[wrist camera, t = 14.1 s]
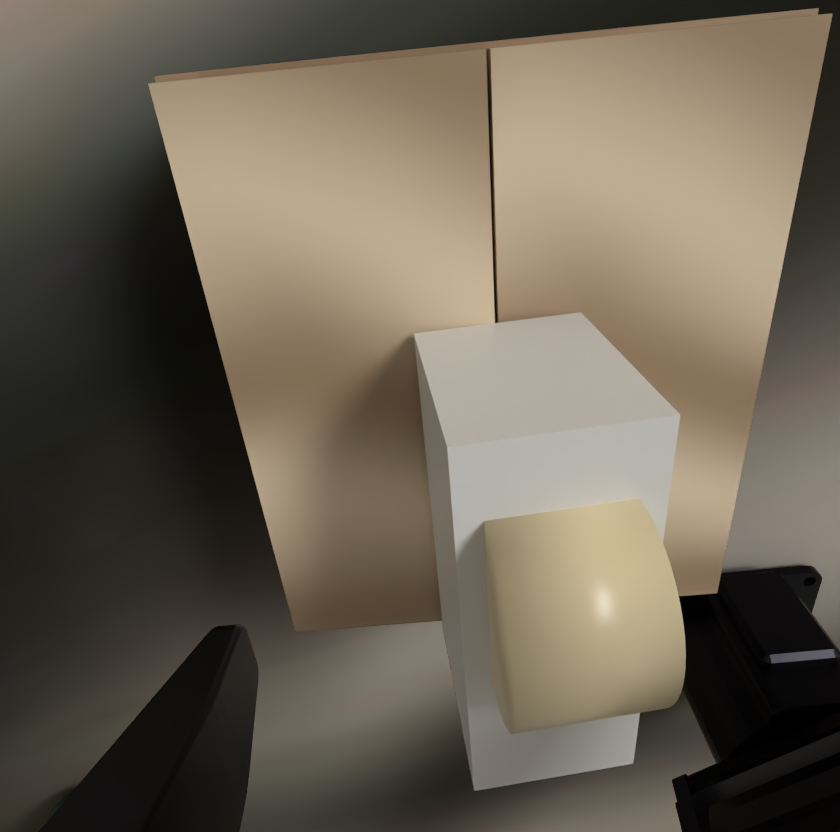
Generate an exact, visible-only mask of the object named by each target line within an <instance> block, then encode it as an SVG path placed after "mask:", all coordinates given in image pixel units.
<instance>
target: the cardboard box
mask: <svg viewBox="0 0 840 832" xmlns="http://www.w3.org/2000/svg"><path fill="white" fill-rule="evenodd" d="M818 10H819V8H815V9H805V10H794V11H784V12H774V13H764V14H754V15H743V16H733V17H723V18H713V19H703V20H693V21H682V22H673V23H663V24H653V25H644V26H634V27H624V28H614V29H605V30H595V31H585V32H575V33H566V34H556V35H546V36H537V37H527V38H517V39H507V40H498V41H488V42H478V43H468V44H459V45H449V46H439V47H429V48H420V49H410V50H400V51H391V52H381V53H371V54H361V55H352V56H342V57H332V58H322V59H313V60H303V61H293V62H284V63H274V64H264V65H254V66H245V67H235V68H225V69H216V70H207V71H198V72H189V73H180V74H171V75H162V76H154V77H155V80H156V83H157V82H167V81H177V80H187V79H196V78H206V77H216V76H226V75H235V74H245V73H255V72H265V71H274V70H284V69H294V68H304V67H313V66H323V65H333V64H343V63H353V62H362V61H372V60H382V59H392V58H401V57H411V56H421V55H431V54H440V53H450V52H460V51H470V50H479V49H486V62H487V93H488V124H489V155H490V187H491V218H492V249H493V280H494V248H493V216H492V184H491V152H490V120H489V79H488V48H498V47H508V46H517V45H527V44H537V43H547V42H556V41H566V40H576V39H586V38H595V37H605V36H615V35H625V34H634V33H644V32H654V31H664V30H673V29H683V28H693V27H703V26H712V25H722V24H732V23H742V22H751V21H761V20H771V19H781V18H790V17H800V16H810V15H818ZM494 311H495V280H494ZM495 323H496V312H495Z"/></svg>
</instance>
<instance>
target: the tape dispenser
mask: <svg viewBox="0 0 840 832" xmlns="http://www.w3.org/2000/svg"><path fill="white" fill-rule="evenodd" d="M414 341H415V351H416V361H417V372H418V382H419V392H420V402H421V412H422V422H423V432H424V442H425V452H426V462H427V472H428V482H429V493H430V503H431V513H432V523H433V533H434V543H435V553H436V563H437V573H438V583H439V593H440V603H441V614H442V624H443V632H444V638H445V643H446V648H447V653H448V658H449V663H450V669H451V674H452V679H453V684H454V689H455V695H456V700H457V705H458V710H459V715H460V720H461V726H462V731H463V736H464V741H465V746H466V751H467V757H468V762H469V767H470V772H471V777H472V783H473V788H474V791H477V790H483V789H489V788H495V787H501V786H506V785H512V784H518V783H524V782H529V781H535V780H541V779H547V778H553V777H558V776H564V775H570V774H576V773H582V772H587V771H593V770H599V769H605V768H610V767H616V766H622V765H628V764H633V761H634V754H635V746H636V739H637V732H638V724H639V717H640V713H642V712H648V711H654V710H660V709H666V708H670V707H671V706H673V705H674V704H675V703H676V702H677V700H678V698H679V696H680V694H681V692H682V688H683V684H684V677H685V669H686V646H685V633H684V623H683V617H682V611H681V605H680V600H679V595H678V591H677V586H676V583H675V579H674V575H673V571H672V568H671V565H670V562H669V559H668V556H667V553H666V550H665V547H664V545H663V540H664V532H665V525H666V518H667V510H668V503H669V495H670V488H671V481H672V473H673V466H674V458H675V451H676V444H677V436H678V429H679V421H680V414H679V413H678V412H677V411H676V410H675V409H674V408H673V407H672V406H671V405H670V404H669V402H668V401H667V400H666V399H665V398H664V397H663V396H662V395H661V394H660V393H659V392H658V391H657V390H656V389H655V388H654V387H653V386H652V385H651V384H650V383H649V382H648V381H647V380H646V379H645V378H644V377H643V376H642V375H641V374H640V373H639V372H638V371H637V370H636V369H635V367H634V366H633V365H632V364H631V363H630V362H629V361H628V360H627V359H626V358H625V357H624V356H623V355H622V354H621V353H620V352H619V351H618V350H617V349H616V348H615V347H614V346H613V345H612V344H611V343H610V342H609V341H608V340H607V339H606V338H605V337H604V336H603V335H602V333H601V332H600V331H599V330H598V329H597V328H596V327H595V326H594V325H593V324H592V323H591V322H590V321H589V320H588V319H587V318H586V317H585V316H584V315H583V314H582V313H581V312H578V313H570V314H562V315H554V316H547V317H539V318H531V319H523V320H515V321H508V322H500V323H493V324H484V325H476V326H469V327H461V328H453V329H445V330H437V331H430V332H422V333H414Z"/></svg>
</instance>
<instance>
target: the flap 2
mask: <svg viewBox="0 0 840 832" xmlns="http://www.w3.org/2000/svg"><path fill="white" fill-rule="evenodd" d="M832 15H833V14H821V15H810V16H800V17H790V18H781V19H771V20H761V21H751V22H742V23H732V24H722V25H712V26H703V27H693V28H683V29H673V30H664V31H654V32H644V33H634V34H625V35H615V36H605V37H595V38H586V39H576V40H566V41H556V42H547V43H537V44H527V45H517V46H508V47H498V48H488V79H489V120H490V152H491V184H492V216H493V248H494V280H495V312H496V323H500V322H508V321H515V320H523V319H531V318H539V317H547V316H554V315H562V314H570V313H578V312H581V313H582V314H583V315H584V316H585V317H586V318H587V319H588V320H589V321H590V322H591V323H592V324H593V325H594V326H595V327H596V328H597V329H598V330H599V331H600V332H601V333H602V335H603V336H604V337H605V338H606V339H607V340H608V341H609V342H610V343H611V344H612V345H613V346H614V347H615V348H616V349H617V350H618V351H619V352H620V353H621V354H622V355H623V356H624V357H625V358H626V359H627V360H628V361H629V362H630V363H631V364H632V365H633V366H634V367H635V369H636V370H637V371H638V372H639V373H640V374H641V375H642V376H643V377H644V378H645V379H646V380H647V381H648V382H649V383H650V384H651V385H652V386H653V387H654V388H655V389H656V390H657V391H658V392H659V393H660V394H661V395H662V396H663V397H664V398H665V399H666V400H667V401H668V402H669V404H670V405H671V406H672V407H673V408H674V409H675V410H676V411H677V412H678V413H679V414H680V421H679V429H678V436H677V444H676V451H675V458H674V466H673V473H672V481H671V488H670V495H669V503H668V510H667V518H666V525H665V532H664V540H663V545H664V547H665V550H666V553H667V556H668V559H669V562H670V565H671V568H672V571H673V575H674V579H675V583H676V586H677V591H678V595H679V596H688V595H701V594H713V593H717V592H718V587H719V582H720V577H721V572H722V567H723V562H724V557H725V552H726V547H727V542H728V537H729V532H730V527H731V522H732V517H733V511H734V506H735V501H736V496H737V491H738V486H739V481H740V476H741V471H742V466H743V461H744V456H745V451H746V446H747V441H748V436H749V431H750V426H751V421H752V416H753V411H754V406H755V401H756V396H757V391H758V386H759V381H760V376H761V371H762V366H763V361H764V356H765V351H766V346H767V341H768V336H769V331H770V326H771V321H772V316H773V311H774V306H775V301H776V296H777V291H778V286H779V281H780V276H781V271H782V266H783V260H784V255H785V250H786V245H787V240H788V235H789V230H790V225H791V220H792V215H793V210H794V205H795V200H796V195H797V190H798V185H799V180H800V175H801V170H802V165H803V160H804V155H805V150H806V145H807V140H808V135H809V130H810V125H811V120H812V115H813V110H814V105H815V100H816V95H817V90H818V85H819V80H820V75H821V70H822V65H823V60H824V55H825V50H826V45H827V40H828V35H829V30H830V25H831V20H832Z"/></svg>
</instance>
